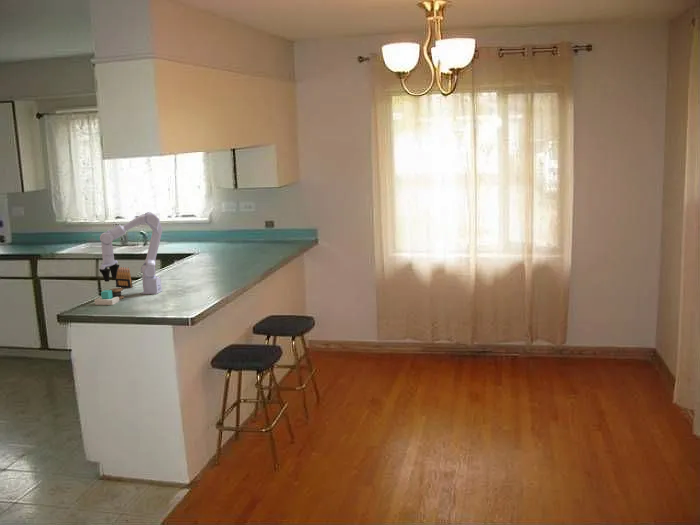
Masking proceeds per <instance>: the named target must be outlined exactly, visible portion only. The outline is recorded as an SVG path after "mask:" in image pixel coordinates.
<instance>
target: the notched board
mask: <svg viewBox="0 0 700 525" xmlns="http://www.w3.org/2000/svg"><path fill="white" fill-rule="evenodd" d="M119 302H120V299H119V297H114V298H112V299H102V297H101V296H99V297H98V298H96V299H94V305H95V306H97V305H98V306H100V305H101V306H103V305H104V306H107V305H108V306H112V305H115V304H117V303H119Z"/></svg>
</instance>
